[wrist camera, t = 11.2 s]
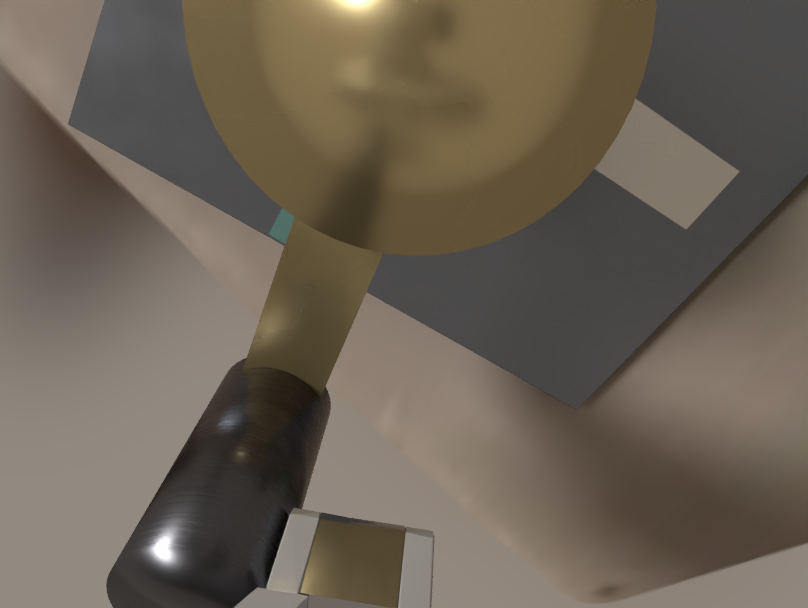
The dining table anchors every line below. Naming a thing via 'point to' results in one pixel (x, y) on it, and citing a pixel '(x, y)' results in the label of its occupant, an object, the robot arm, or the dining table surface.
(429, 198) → the brass crank knob
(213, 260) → the dining table surface
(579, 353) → the labelled display base
